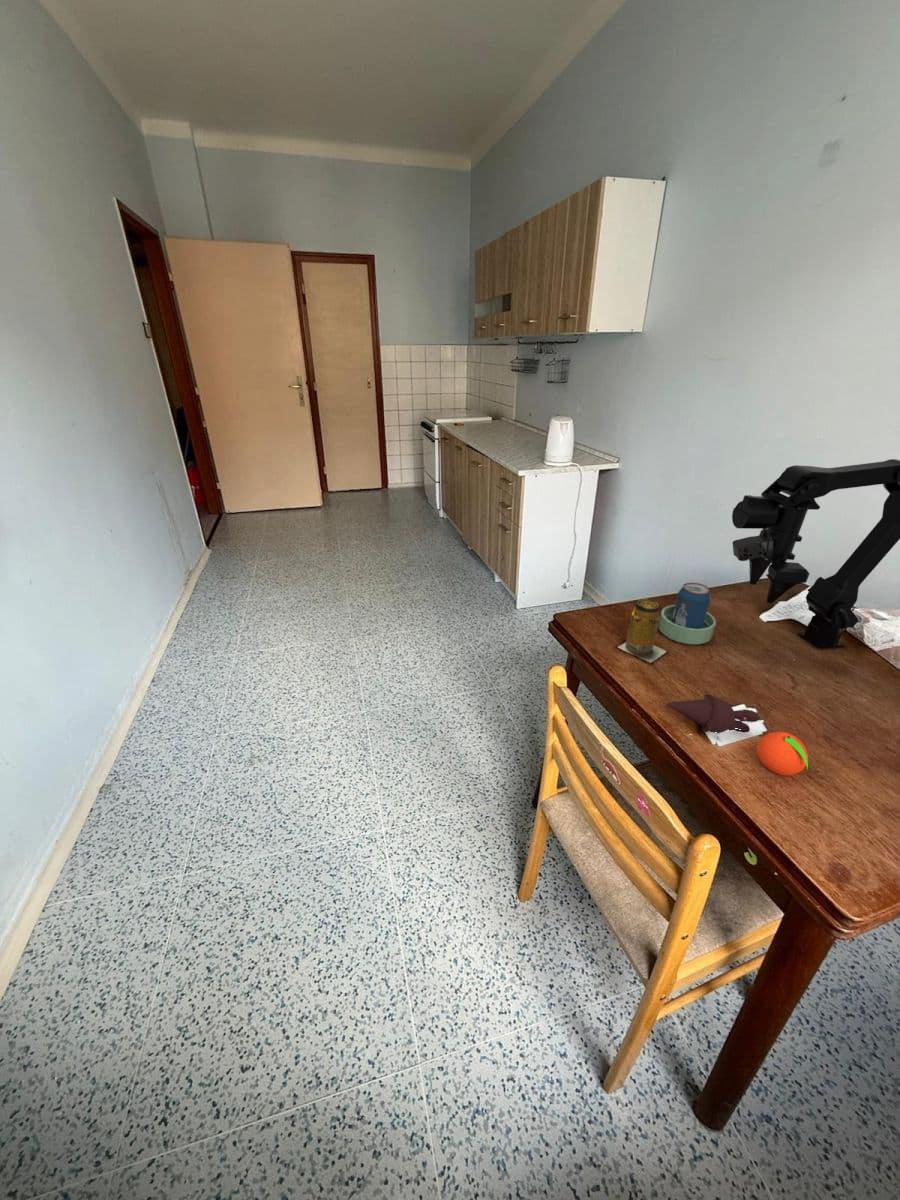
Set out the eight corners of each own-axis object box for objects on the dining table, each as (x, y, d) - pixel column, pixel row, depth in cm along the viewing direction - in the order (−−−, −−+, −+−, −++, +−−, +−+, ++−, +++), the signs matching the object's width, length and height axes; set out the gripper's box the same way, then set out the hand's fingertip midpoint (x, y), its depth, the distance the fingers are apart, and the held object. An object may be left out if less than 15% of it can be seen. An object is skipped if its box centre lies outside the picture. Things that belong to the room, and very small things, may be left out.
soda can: (700, 627, 119) (712, 584, 113) (700, 640, 113) (712, 596, 108) (671, 621, 122) (681, 579, 116) (669, 634, 116) (679, 591, 110)
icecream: (673, 709, 84) (766, 731, 80) (672, 677, 89) (759, 696, 85) (661, 730, 88) (749, 751, 85) (661, 698, 94) (743, 717, 90)
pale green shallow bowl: (693, 618, 124) (697, 603, 122) (722, 643, 113) (727, 627, 111) (649, 621, 123) (652, 606, 120) (673, 647, 112) (677, 631, 110)
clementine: (816, 785, 77) (832, 753, 73) (779, 793, 75) (794, 761, 72) (776, 749, 83) (789, 719, 80) (742, 756, 82) (754, 725, 79)
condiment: (634, 637, 116) (642, 594, 111) (666, 651, 110) (677, 607, 105) (617, 648, 112) (625, 604, 106) (650, 664, 106) (660, 618, 101)
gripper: (727, 512, 109) (709, 573, 117) (761, 541, 93) (738, 610, 100) (779, 515, 108) (758, 576, 115) (823, 545, 91) (794, 614, 99)
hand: (760, 593), depth 107 cm, fingers open, 9 cm apart
